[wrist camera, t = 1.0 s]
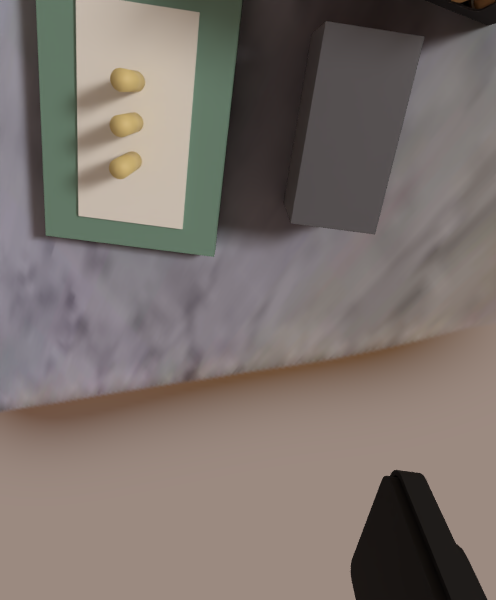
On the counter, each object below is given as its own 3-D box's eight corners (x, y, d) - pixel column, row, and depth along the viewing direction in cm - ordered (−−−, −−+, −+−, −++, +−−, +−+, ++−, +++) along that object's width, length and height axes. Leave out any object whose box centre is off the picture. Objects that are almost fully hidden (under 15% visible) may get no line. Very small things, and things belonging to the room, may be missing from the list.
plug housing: (311, 34, 25) (325, 21, 20) (392, 46, 25) (424, 36, 20) (283, 202, 28) (290, 223, 24) (354, 211, 29) (375, 234, 24)
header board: (46, -42, 23) (1, -72, 19) (244, -11, 24) (243, -33, 20) (55, 228, 29) (22, 252, 25) (215, 249, 30) (210, 275, 25)
